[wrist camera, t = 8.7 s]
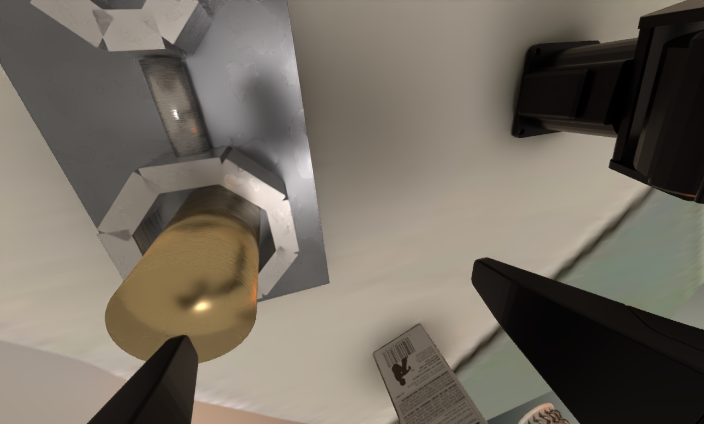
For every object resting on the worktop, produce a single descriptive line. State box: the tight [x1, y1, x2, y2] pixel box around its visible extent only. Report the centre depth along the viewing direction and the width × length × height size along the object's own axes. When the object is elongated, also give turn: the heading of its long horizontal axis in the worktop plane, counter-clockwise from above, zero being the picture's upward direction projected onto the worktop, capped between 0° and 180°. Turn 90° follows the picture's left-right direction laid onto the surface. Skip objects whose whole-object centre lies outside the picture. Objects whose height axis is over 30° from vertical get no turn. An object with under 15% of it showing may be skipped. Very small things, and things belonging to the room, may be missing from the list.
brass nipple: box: [105, 185, 261, 363], centre depth 12 cm, size 4×4×8 cm
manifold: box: [0, 0, 330, 302], centre depth 13 cm, size 12×24×4 cm, turn 4°
